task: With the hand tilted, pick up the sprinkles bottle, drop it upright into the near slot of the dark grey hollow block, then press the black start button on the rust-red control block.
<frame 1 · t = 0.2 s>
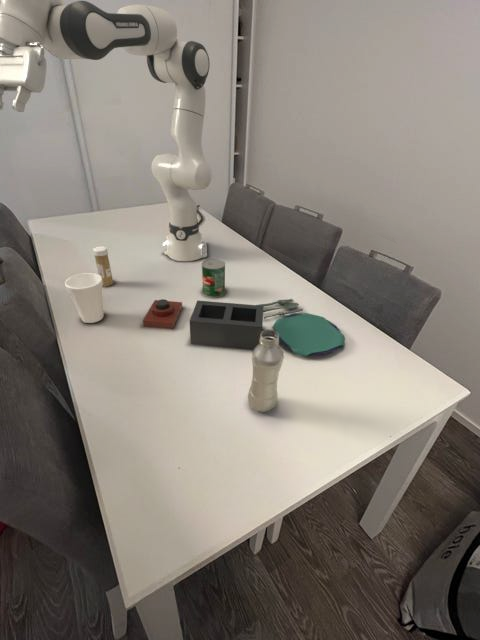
hand: (6, 109, 76), 54 cm above the table, tool tilted 30°, fingers open, 8 cm apart
cup: (93, 318, 103), on the table
plastic bottle: (261, 405, 77), on the table
dark grey hollow block: (227, 335, 98), on the table
start button: (162, 304, 103), point 4 cm above the table, slide at 0.1 cm
canned tomato: (213, 292, 120), on the table
sprinkles bottle: (107, 284, 122), on the table
cutlery set: (298, 328, 103), on the table
button block: (163, 316, 105), on the table
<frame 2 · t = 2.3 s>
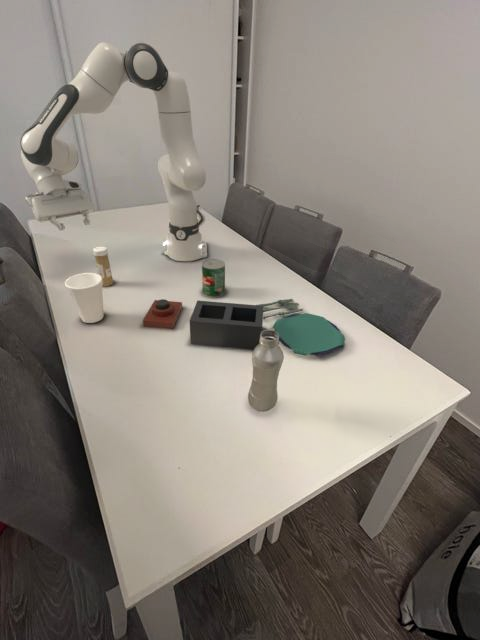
hand: (75, 226, 117), 18 cm above the table, tool tilted 45°, fingers open, 8 cm apart
nothing on the table moved.
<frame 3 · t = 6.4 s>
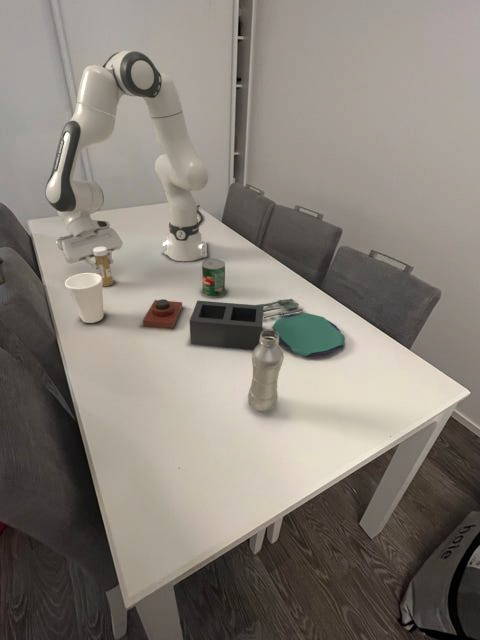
hand: (104, 265, 117), 7 cm above the table, tool tilted 45°, fingers closed on sprinkles bottle, 4 cm apart
sprinkles bottle: (107, 284, 122), on the table, touching gripper
everything else where it was.
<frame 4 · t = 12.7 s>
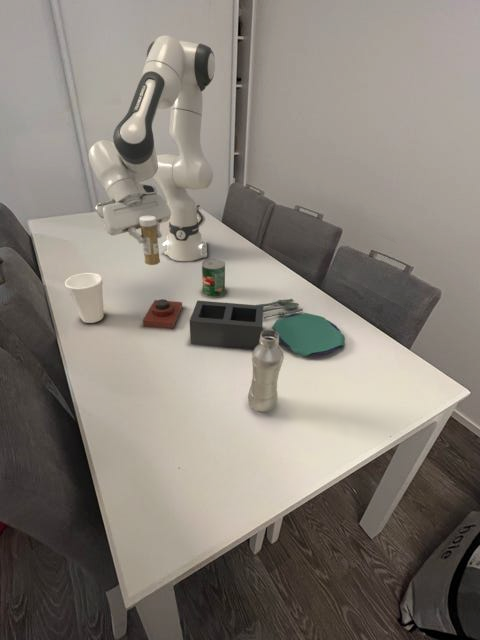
hand: (151, 239, 96), 23 cm above the table, tool tilted 45°, fingers closed on sprinkles bottle, 4 cm apart
sprinkles bottle: (152, 263, 100), point 16 cm above the table, touching gripper
everything else where it was.
when the fingers open (13 cm above the table, at t = 19.0 s): sprinkles bottle drops 5 cm, resting in dark grey hollow block.
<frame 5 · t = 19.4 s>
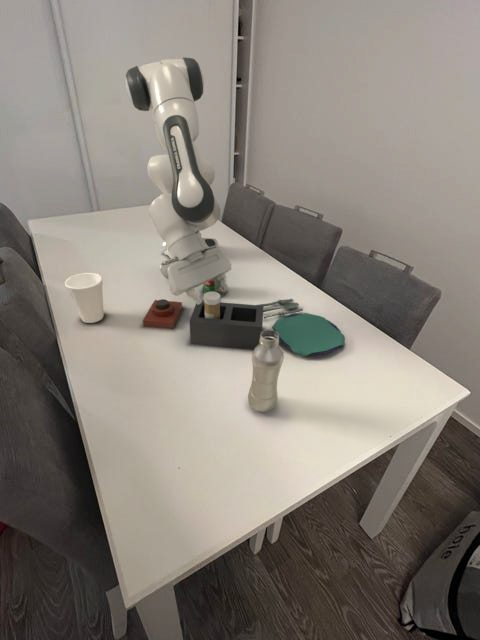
hand: (214, 296, 91), 13 cm above the table, tool tilted 45°, fingers open, 8 cm apart
sprinkles bottle: (212, 335, 99), resting in dark grey hollow block
everything else where it was.
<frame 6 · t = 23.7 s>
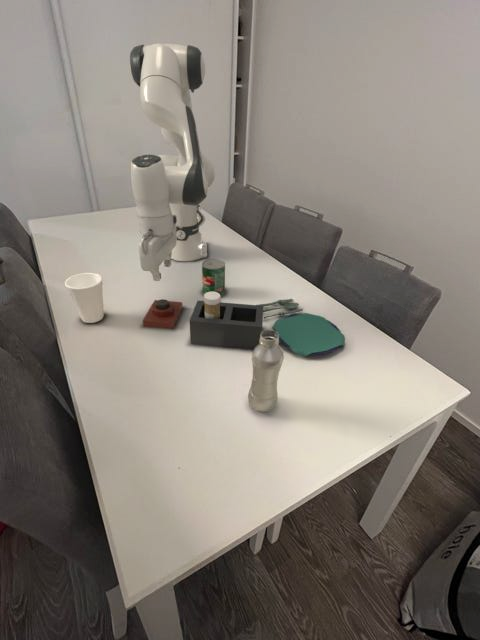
hand: (163, 272, 96), 16 cm above the table, tool pointing down, fingers open, 8 cm apart
nothing on the table moved.
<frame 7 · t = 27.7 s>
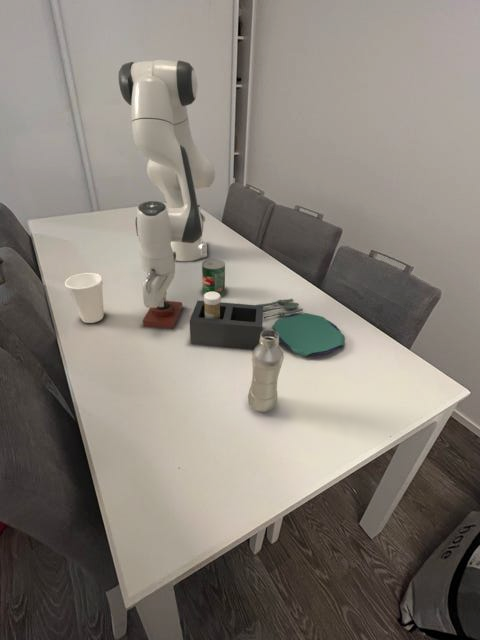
hand: (162, 304, 103), 5 cm above the table, tool pointing down, fingers closed, pressing on start button
start button: (162, 306, 103), point 4 cm above the table, slide at -0.7 cm, touching gripper
everything else where it was.
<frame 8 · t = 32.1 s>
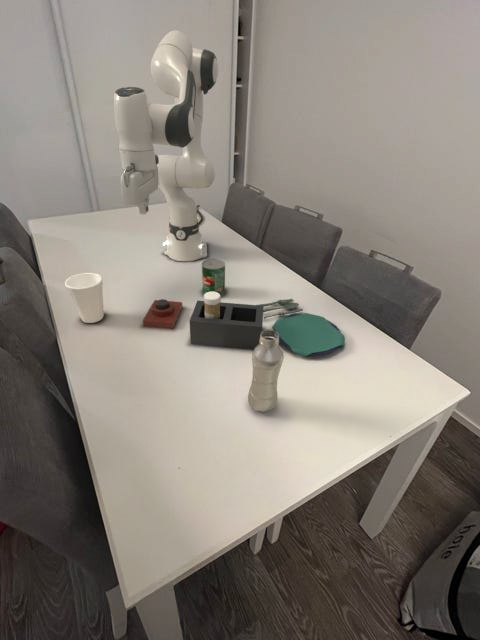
hand: (144, 213, 98), 29 cm above the table, tool pointing down, fingers closed
start button: (162, 304, 103), point 4 cm above the table, slide at 0.1 cm
everything else where it was.
at the end: sprinkles bottle 0.0 cm from the target spot in the dark grey hollow block, point 0.0 cm above the dark grey hollow block's base; start button pushed in 1.1 cm at the most during the clip, back to where it started at the end; start button slide at 0.1 cm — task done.
